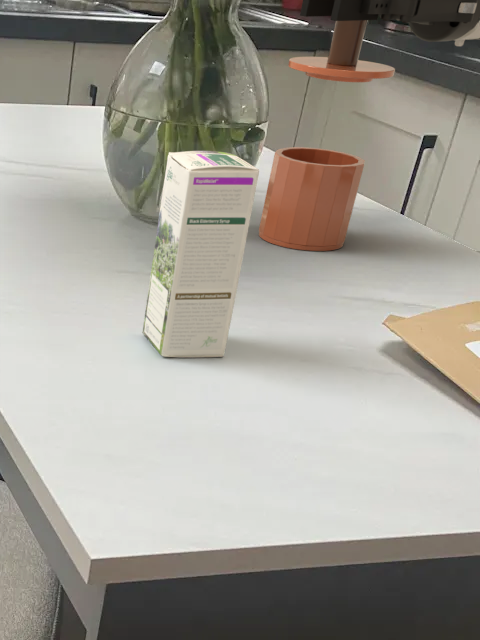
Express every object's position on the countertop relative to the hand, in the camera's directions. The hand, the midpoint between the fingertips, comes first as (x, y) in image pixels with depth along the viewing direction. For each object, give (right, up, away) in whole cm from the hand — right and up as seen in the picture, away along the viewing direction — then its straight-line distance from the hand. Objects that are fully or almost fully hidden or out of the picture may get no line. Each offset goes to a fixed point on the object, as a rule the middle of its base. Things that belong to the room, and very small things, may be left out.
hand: (321, 1), depth 103 cm
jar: (+3, -16, +16) cm, 23 cm away
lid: (+4, -3, +6) cm, 8 cm away
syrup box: (-16, -38, -13) cm, 43 cm away
